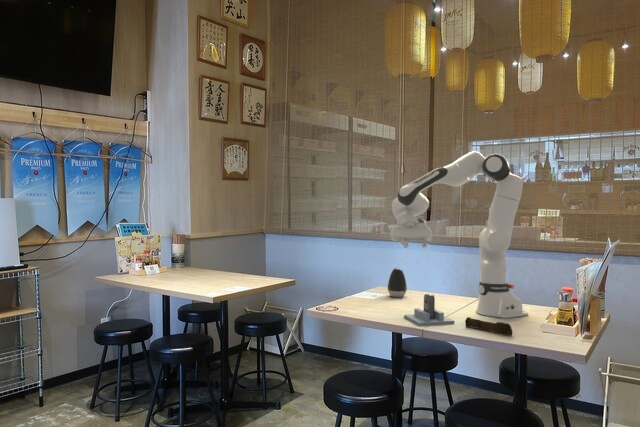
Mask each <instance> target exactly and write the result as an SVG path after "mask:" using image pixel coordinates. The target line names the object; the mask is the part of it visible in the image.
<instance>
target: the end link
mask: <svg viewBox="0 0 640 427" xmlns="http://www.w3.org/2000/svg"><path fill="white" fill-rule="evenodd" d="M435 302H436V301H435V295H434V294H433V293H427V294H424V295H423V311H425V312H427V313H429V314H430V319H434V311H435V309H436V308H435V305H436V304H435Z"/></svg>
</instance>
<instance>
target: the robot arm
mask: <svg viewBox="0 0 640 427" xmlns="http://www.w3.org/2000/svg"><path fill="white" fill-rule="evenodd" d="M510 169H511V168H510V164H509V161H508V160H507V159H506V157H505V156H504V155H502V154H501V153H500V154H499V153H492V154H488V155H487V156H486V157H484V155H483V154H482V153H481V152H478V151H476V150H474V151H470V152H468V153H467V154H464V155H462V156H461V157H459V158H458V159H457V160H455V161H454V162H452V163H450V164H448V165H445V166H442V167H437V168H435V169H433V170H432V171H429V172H428V173H426V174H424V175H422V176H420V177H419V178H417V179H415V180H413V181H412V182H409V183H406V184H404V185H402V186H401V187H400V188H399V190H398V192H397V195H396V196H397V197H395V198H394V199H393V200H392V202H391V210H392V215H393V216H394V219H395V221H396V223H395V224H393V223H392V224H389V225H388V227H387V228H388V231H389V235H390V240H391V241H392V242H399V243H400V244H401V245H402V246H403V248H405V249H408V247H409V243H408V242H422V245H421V246H422V248H424V249H427V247H428V244H427V242H430V241H431V240H432V238H433V233H432V232H433V231H432V230H431V228H430V227H429V226H428V225H427V221H426V220H425V219H421V218H418V217H419V216H421V215H422V214H425V213H426V212H427V211H428V209H429V207H430V201H429V199H428V198H427V197H426V196H425V194H423V193H422V192H423V191H425V190H427V189H428V188H430V187H432V186H434V185H435V184H436V185H437V184H444V185H447V186H451V187H455V188H456V187H460V186H463V185H465V184H466V183H468V182H469V181H470V180H472V179H473V178H475V177H476V176H478V175H483V176H484V177H486V178H487V179H489V180H490V181H493V182H496V187H495V188H496V189H495V193H494V196H493V199H492V201H491V205H490V208H489V211H488V219H487V220H488V221H487V225H486V227H485V228H484V229H483V230H481V231H480V233H479V236H478V238H479V239H478V246H479V247H478V248H479V260H480V277H479V278H480V280H479V283H478V284H479V285H478V286H479V287H478V291H479V295H478V296H479V297H478V302H477V307H476V309H475V310H476V311H475V312H476V313H477V314H480V315H483V316H487V317H495V318H496V317H497V318H503V319H507V318H515V317H517V318H518V317H523V316H528V315H529V312H528V311H526V310H524V309H523V303H522V300H520V299H519V297H517V296H516V295H515V294H513V293H512V291H511V290H513V289H514V288H515V284H512V283H507V261H506V251H507V250H508V249H509V248H510V246H511V240H512V233H513V231H514V222H515V218H516V215H517V211H518V208H519V205H520V201H521V199H522V198H521V197H522V193H523V188H524V187H523V186H524V181H523V179H522V178H521V177H520V176H518V175H516V174H513V173H511V170H510ZM510 289H511V290H510Z"/></svg>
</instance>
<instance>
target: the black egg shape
mask: <svg viewBox="0 0 640 427" xmlns="http://www.w3.org/2000/svg"><path fill="white" fill-rule="evenodd" d="M388 278H389V279H388V281H387V282H388V283H387V289H386V290H387V292H388V294H389V295H390V297H394V298H402V297H404V296H405V295H406V293H407V290H408V286H407V285H408V284H407V279H406V276H405V273H404V271H403V270H402V269H401V268H400V267H395V268H393V269H392V271H391V273H390V276H389V277H388Z"/></svg>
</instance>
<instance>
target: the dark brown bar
mask: <svg viewBox="0 0 640 427" xmlns="http://www.w3.org/2000/svg"><path fill="white" fill-rule="evenodd" d="M464 323H465V327H469V328H476V329H480V330H485V331H491V332H494V333H495V334H496V333H497V335H500V334H501V336H510V337H513V329H512V326H511V325H510V324H509V323H507V322H506V323H505V322H501V321H497V322H495V323H494V322H491V321H484V320H480V319H478V318H476V319H475V318H472V317H471V316H470V317H469V316H468V317H466V319H465V320H464Z"/></svg>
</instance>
